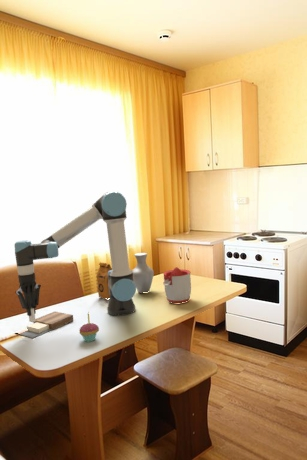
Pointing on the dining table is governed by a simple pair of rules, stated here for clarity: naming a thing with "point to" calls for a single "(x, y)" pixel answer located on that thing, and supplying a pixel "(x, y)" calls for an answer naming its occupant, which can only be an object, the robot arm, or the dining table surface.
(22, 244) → the robot arm
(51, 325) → the board
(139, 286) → the vase
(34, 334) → the mat
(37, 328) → the tile
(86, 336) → the cupcake
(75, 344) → the dining table surface
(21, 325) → the dining table surface
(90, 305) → the dining table surface
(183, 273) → the citrus juicer
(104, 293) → the coffee package
